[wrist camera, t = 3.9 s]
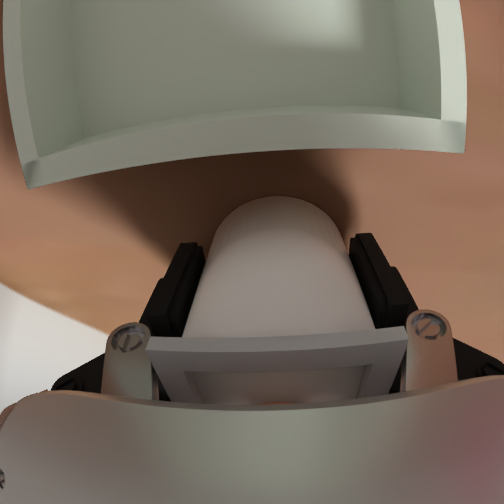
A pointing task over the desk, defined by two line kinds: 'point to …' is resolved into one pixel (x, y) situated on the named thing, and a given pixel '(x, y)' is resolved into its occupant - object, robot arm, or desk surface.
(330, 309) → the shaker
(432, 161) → the desk surface
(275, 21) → the tray
